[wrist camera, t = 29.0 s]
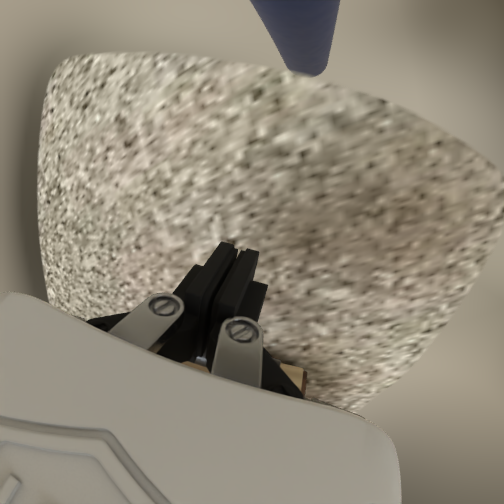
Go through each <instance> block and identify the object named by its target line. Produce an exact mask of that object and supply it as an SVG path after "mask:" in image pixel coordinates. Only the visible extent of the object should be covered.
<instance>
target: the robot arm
mask: <svg viewBox="0 0 504 504" xmlns="http://www.w3.org/2000/svg"><path fill="white" fill-rule="evenodd" d="M237 253H238V249H235V248H234V245H233V244H229V243H226V242H221V243H220V244H219V245H218V247H217V248H216V250H215V251H214V252H213V254H212V255H211V256H210V258H209V259H208V260H207V262H206V263H205V265H204V266H200V265H197V264H196V265H194V266H193V267H192V269H191V270H190V271H189V273H188V274H187V275H186V276H185V278H184V279H183V280H182V282H181V283H180V284H179V286H178V287H177V288H176V289H175V291H174V292H173V293H172V294H170V293H157V294H153V295H151V296H150V297H148V298H147V299H146V300H144V301H143V302H142V303H141V304H140V305H139V306H137V307H136V308H135V309H134V310H133V311H132V312H127V313H121V314H116V315H110V316H105V317H99V318H94V319H90V320H88V321H86V322H85V319H84V318H81V317H77V316H73V315H70V314H68V313H66V312H64V311H62V310H60V309H58V308H56V307H54V306H52V305H50V304H48V303H46V302H44V301H42V300H40V299H38V298H35V297H33V296H30V295H26V294H23V293H17V292H3V293H0V504H401V479H400V469H399V462H398V457H397V453H396V449H395V446H394V444H393V442H392V440H391V438H390V437H389V435H388V434H387V433H386V432H385V431H384V430H382V429H381V428H380V427H378V426H377V425H375V424H374V423H372V422H370V421H368V420H366V419H365V418H363V417H362V416H360V415H357V414H354V413H352V412H349V411H346V410H344V409H341V408H338V407H336V406H333V405H330V404H328V403H325V402H323V401H320V400H318V399H315V398H312V399H311V400H310V399H307V398H305V397H303V394H302V392H301V391H300V389H299V388H298V387H297V386H296V385H295V384H294V382H293V381H292V380H291V379H290V378H289V377H288V375H287V374H286V373H285V372H284V371H283V370H282V368H281V367H280V366H279V365H278V364H277V363H276V361H275V360H274V359H273V358H272V357H271V356H270V354H269V353H268V352H267V351H266V350H265V348H264V347H263V329H262V328H261V326H260V325H259V324H258V323H257V322H258V319H259V316H260V312H261V309H262V306H263V302H264V298H265V295H266V291H267V287H268V285H266V284H263V283H259V282H256V281H253V278H254V274H255V269H256V265H257V261H258V257H259V251H255V250H251V249H248V248H247V249H246V251H242V250H241V252H240V253H239V255H238V257H237ZM236 258H237V259H236ZM206 348H207V349H206ZM205 350H206V357H205V359H206V367H207V369H208V371H209V372H210V373H207V372H204V371H201V370H198V369H195V368H192V367H189V366H187V365H184V364H182V363H183V362H186V361H189V362H192V363H195V361H196V359H197V357H201V358H202V357H203V355H204V353H205Z"/></svg>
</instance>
